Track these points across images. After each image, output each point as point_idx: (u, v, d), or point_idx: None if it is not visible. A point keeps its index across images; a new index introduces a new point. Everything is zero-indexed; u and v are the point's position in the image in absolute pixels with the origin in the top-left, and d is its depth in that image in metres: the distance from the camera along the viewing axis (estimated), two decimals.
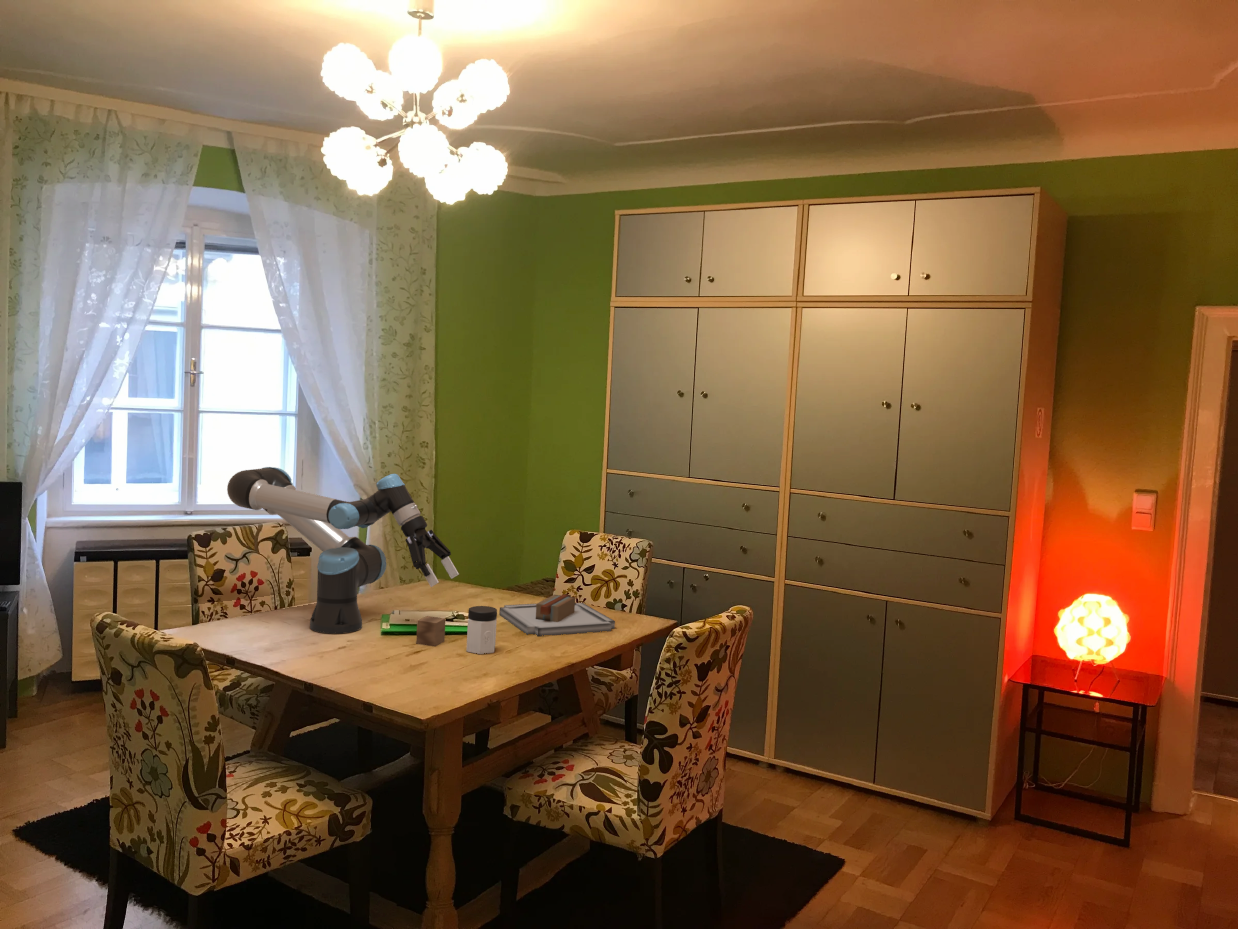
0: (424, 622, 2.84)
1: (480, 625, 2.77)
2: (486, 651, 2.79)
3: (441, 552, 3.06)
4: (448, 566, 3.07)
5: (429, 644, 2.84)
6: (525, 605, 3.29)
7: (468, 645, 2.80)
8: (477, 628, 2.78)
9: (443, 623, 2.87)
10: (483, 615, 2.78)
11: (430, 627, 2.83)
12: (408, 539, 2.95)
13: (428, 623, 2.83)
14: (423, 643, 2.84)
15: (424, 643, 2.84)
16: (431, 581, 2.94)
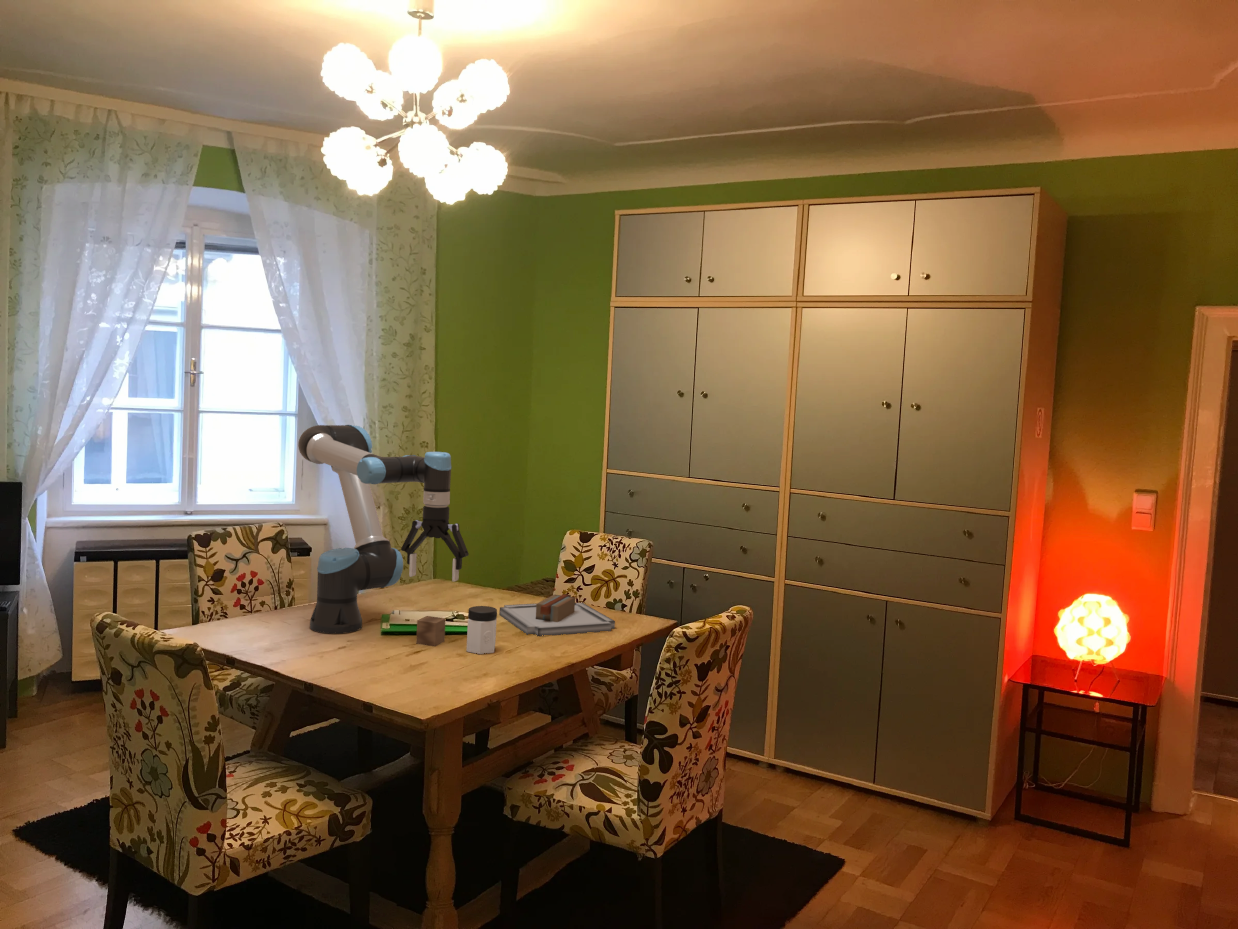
0: (424, 622, 2.84)
1: (480, 625, 2.77)
2: (486, 651, 2.79)
3: None
4: None
5: (429, 644, 2.84)
6: (525, 605, 3.28)
7: (468, 645, 2.80)
8: (477, 628, 2.78)
9: (443, 623, 2.87)
10: (483, 615, 2.78)
11: (430, 627, 2.83)
12: None
13: (428, 623, 2.83)
14: (423, 643, 2.84)
15: (424, 643, 2.84)
16: None
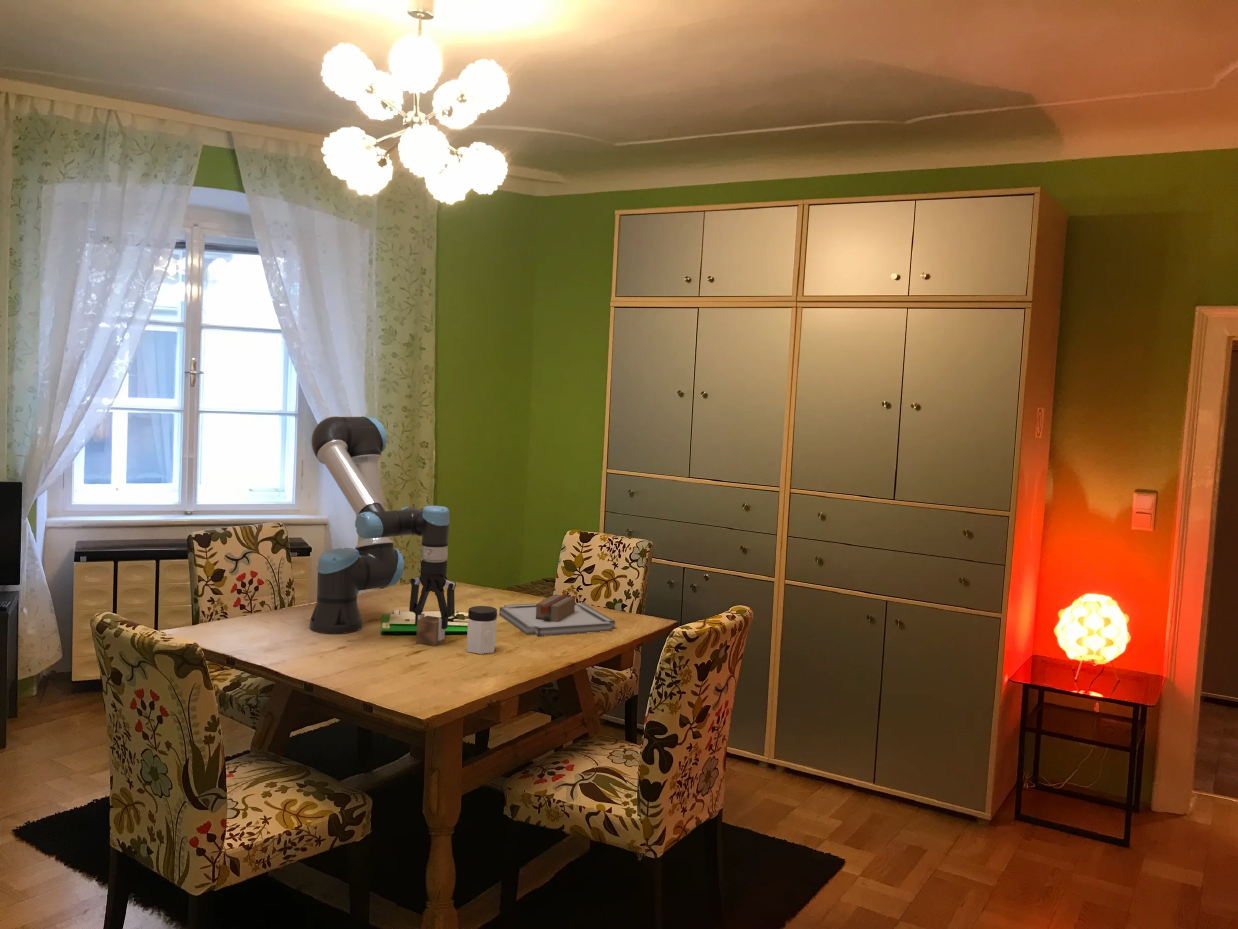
0: (424, 622, 2.84)
1: (480, 625, 2.77)
2: (486, 651, 2.79)
3: None
4: None
5: (429, 644, 2.84)
6: (525, 605, 3.28)
7: (468, 645, 2.80)
8: (477, 627, 2.78)
9: None
10: (483, 615, 2.78)
11: (430, 627, 2.83)
12: None
13: (428, 623, 2.83)
14: (423, 643, 2.84)
15: (424, 643, 2.84)
16: None
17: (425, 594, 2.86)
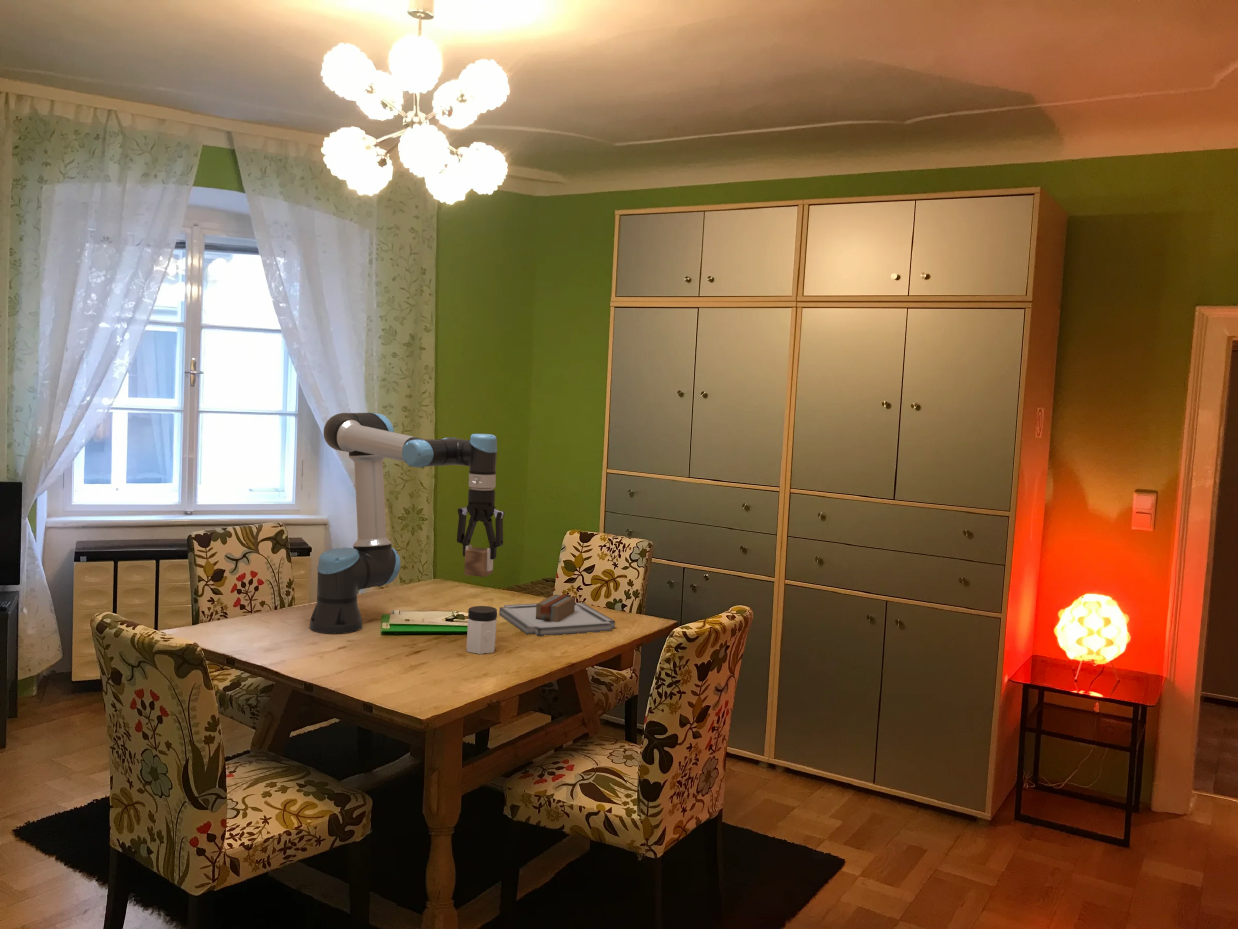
0: (472, 552, 2.78)
1: (480, 625, 2.77)
2: (486, 651, 2.79)
3: None
4: None
5: (478, 574, 2.78)
6: (525, 605, 3.28)
7: (468, 645, 2.80)
8: (477, 627, 2.78)
9: None
10: (483, 615, 2.78)
11: (478, 557, 2.77)
12: None
13: (476, 553, 2.77)
14: (471, 573, 2.78)
15: (472, 573, 2.78)
16: None
17: (473, 524, 2.79)
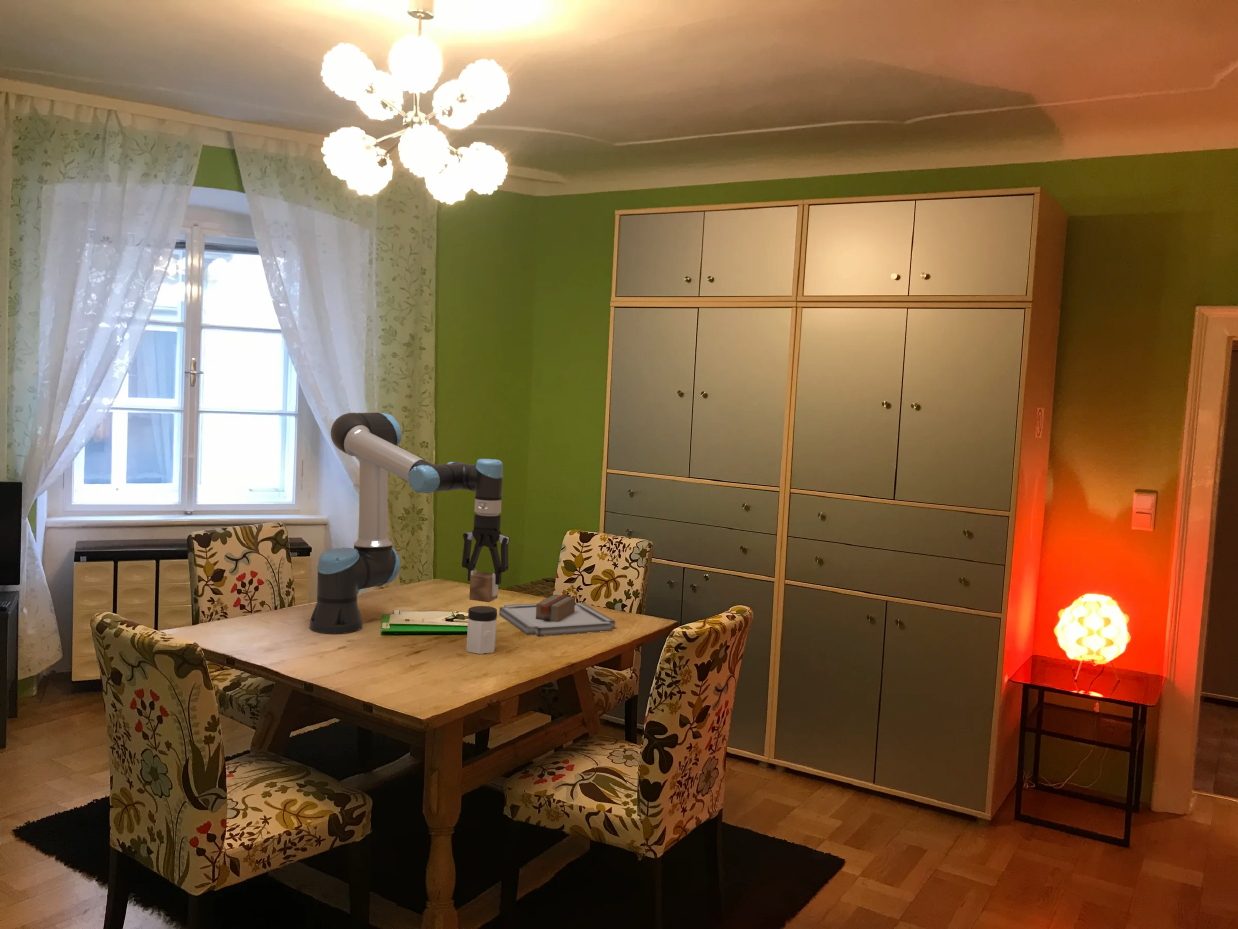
0: (477, 577, 2.78)
1: (480, 625, 2.77)
2: (486, 651, 2.79)
3: None
4: None
5: (483, 600, 2.78)
6: (525, 605, 3.28)
7: (468, 645, 2.80)
8: (477, 627, 2.78)
9: None
10: (483, 615, 2.78)
11: (483, 582, 2.77)
12: None
13: (482, 578, 2.78)
14: (476, 599, 2.78)
15: (477, 599, 2.78)
16: None
17: (478, 549, 2.80)
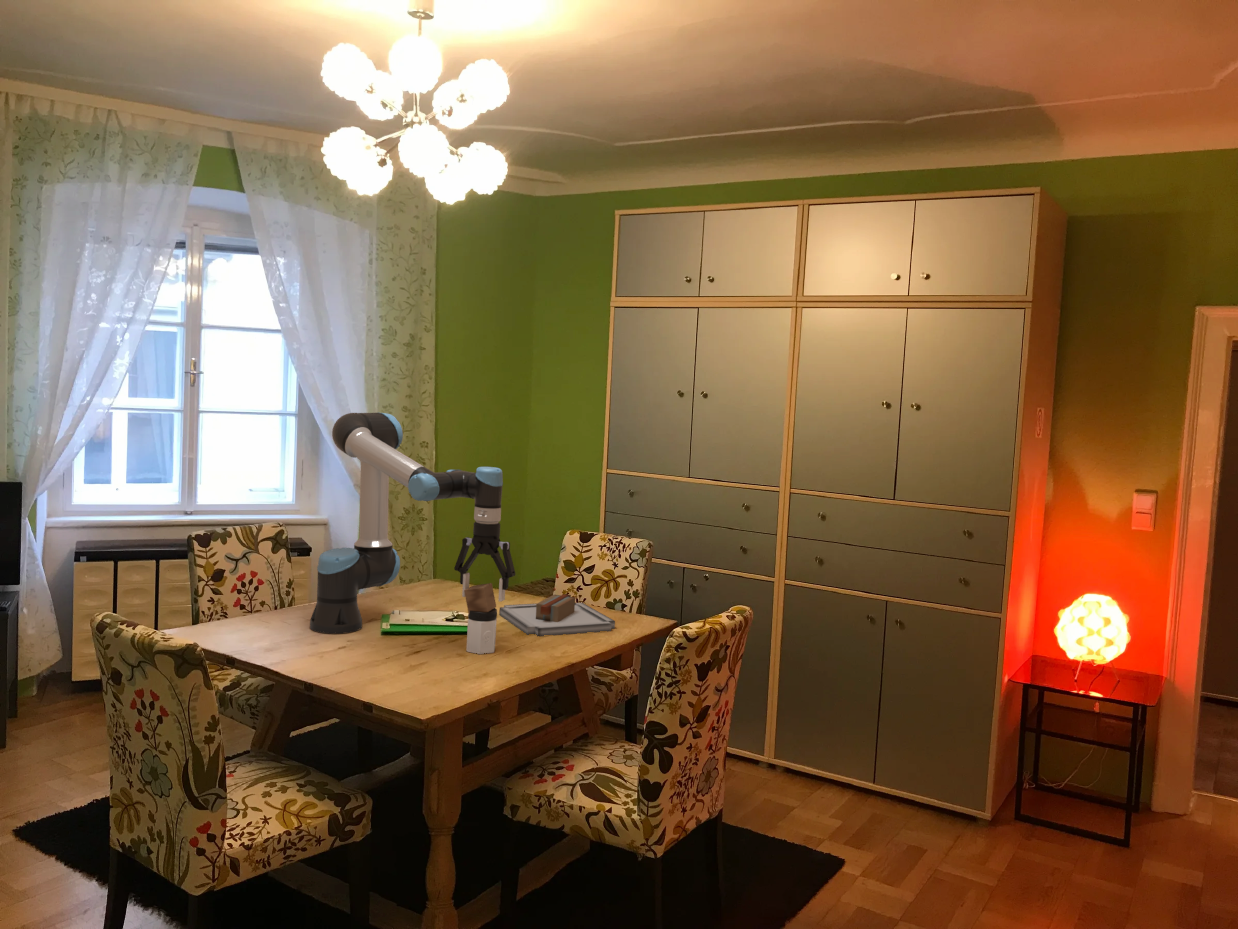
0: (471, 590, 2.78)
1: (480, 625, 2.77)
2: (486, 651, 2.79)
3: None
4: None
5: (481, 611, 2.78)
6: (525, 605, 3.28)
7: (468, 645, 2.80)
8: (477, 628, 2.78)
9: (490, 588, 2.82)
10: (483, 615, 2.78)
11: (478, 594, 2.78)
12: None
13: (475, 590, 2.78)
14: None
15: None
16: None
17: (475, 555, 2.80)
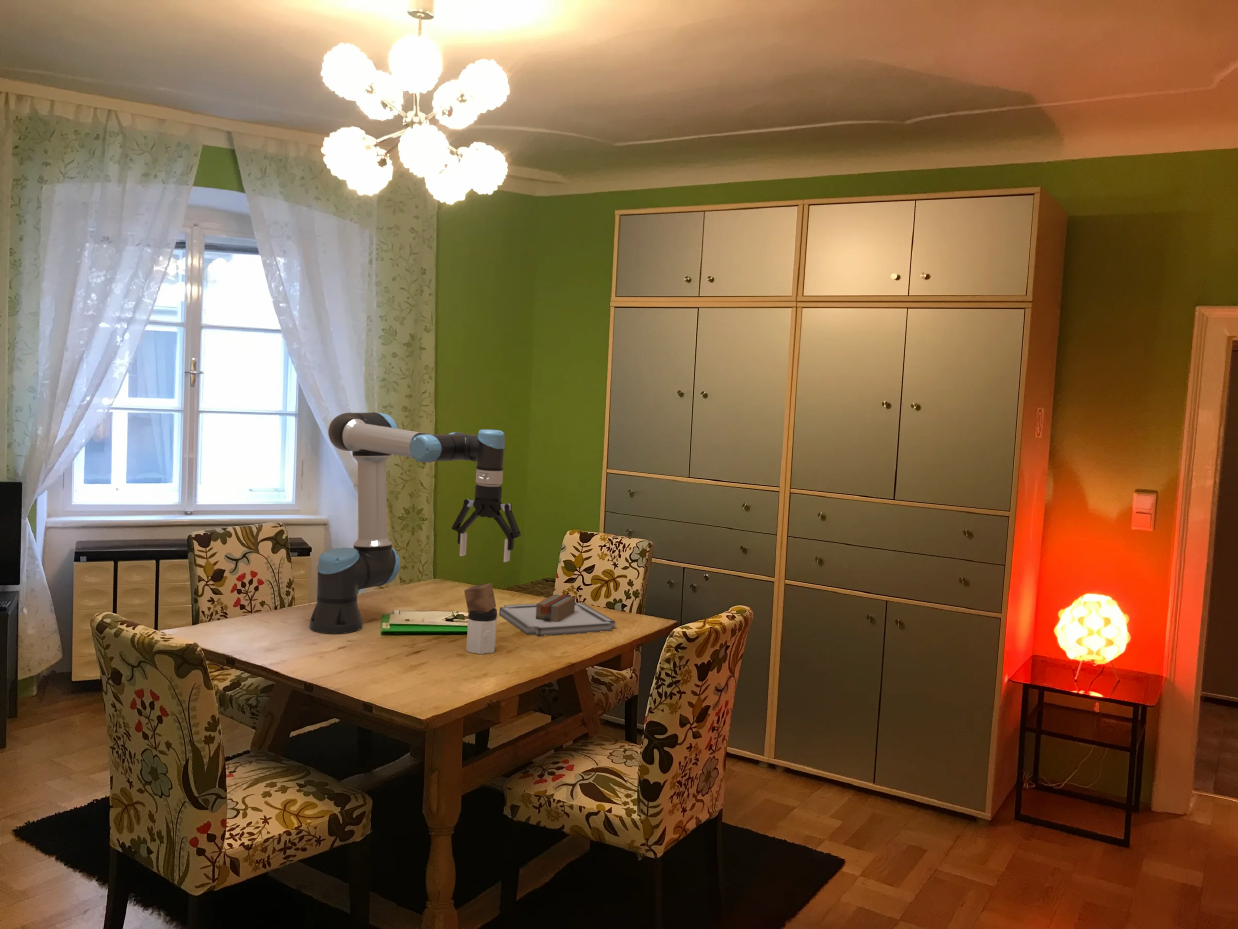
0: (471, 590, 2.78)
1: (480, 625, 2.77)
2: (486, 651, 2.79)
3: None
4: None
5: (481, 611, 2.78)
6: (525, 605, 3.28)
7: (468, 645, 2.80)
8: (477, 628, 2.78)
9: (490, 588, 2.82)
10: (483, 615, 2.78)
11: (478, 594, 2.78)
12: None
13: (475, 590, 2.78)
14: None
15: None
16: None
17: (474, 517, 2.79)
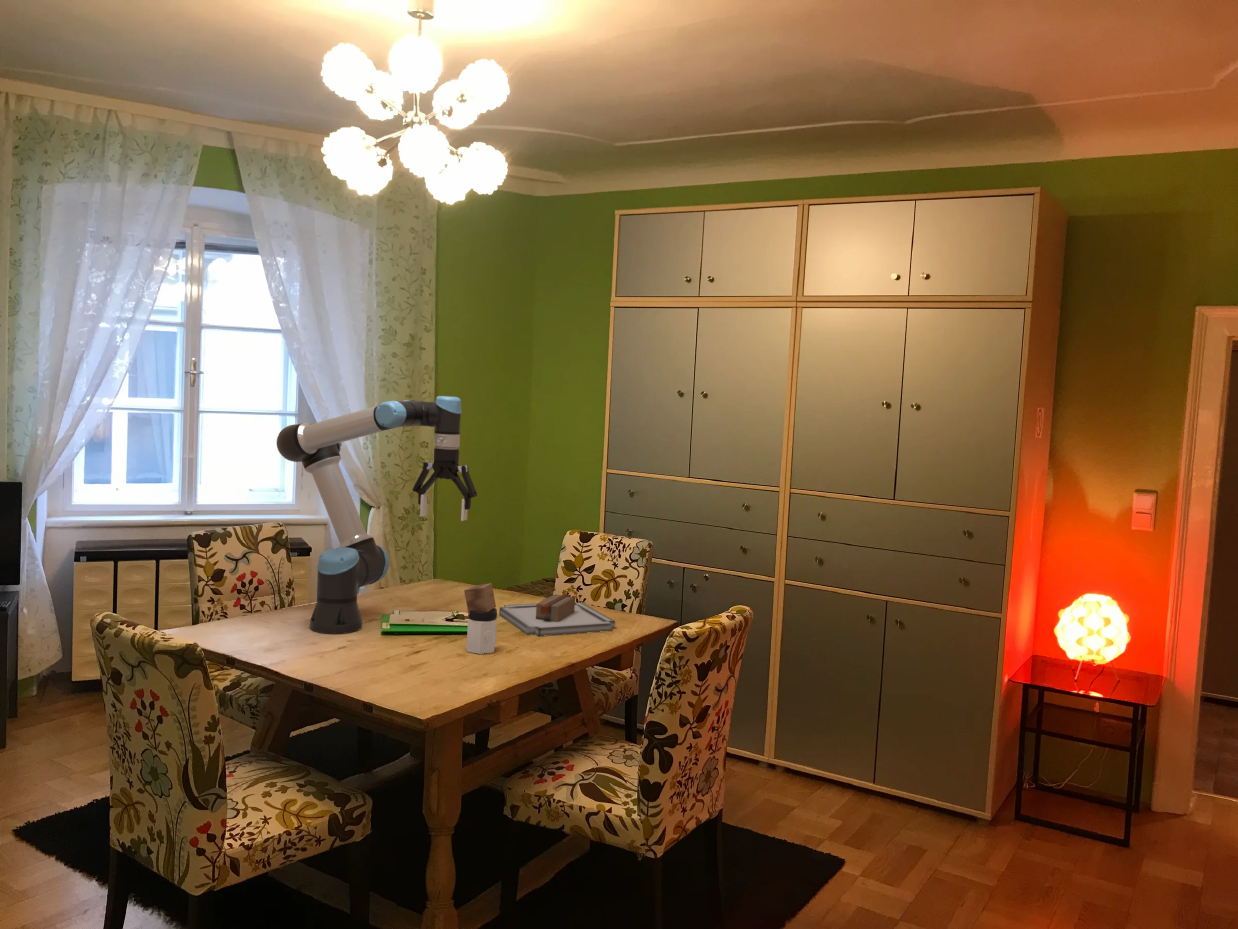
0: (471, 590, 2.78)
1: (480, 625, 2.77)
2: (486, 651, 2.79)
3: None
4: None
5: (481, 611, 2.78)
6: (525, 605, 3.28)
7: (468, 645, 2.80)
8: (477, 628, 2.78)
9: (490, 588, 2.82)
10: (483, 615, 2.78)
11: (478, 594, 2.78)
12: None
13: (475, 590, 2.78)
14: None
15: None
16: None
17: (434, 479, 2.97)
